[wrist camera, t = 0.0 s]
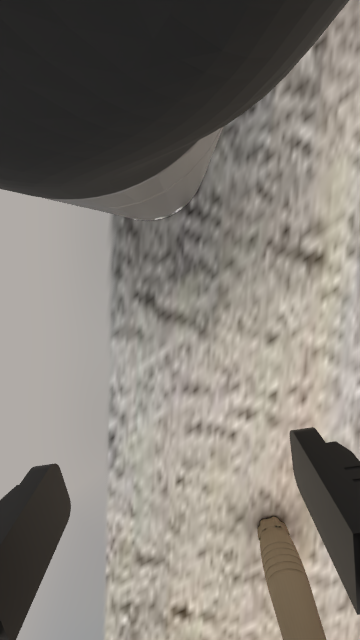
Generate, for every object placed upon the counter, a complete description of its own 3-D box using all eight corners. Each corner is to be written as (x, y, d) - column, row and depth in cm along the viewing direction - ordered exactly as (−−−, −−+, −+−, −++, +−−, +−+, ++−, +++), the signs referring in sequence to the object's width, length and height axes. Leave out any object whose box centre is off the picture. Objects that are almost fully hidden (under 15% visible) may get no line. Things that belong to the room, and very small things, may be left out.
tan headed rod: (249, 505, 33) (301, 719, 18) (303, 514, 33) (396, 731, 19) (238, 535, 34) (278, 756, 20) (290, 544, 34) (366, 767, 20)
